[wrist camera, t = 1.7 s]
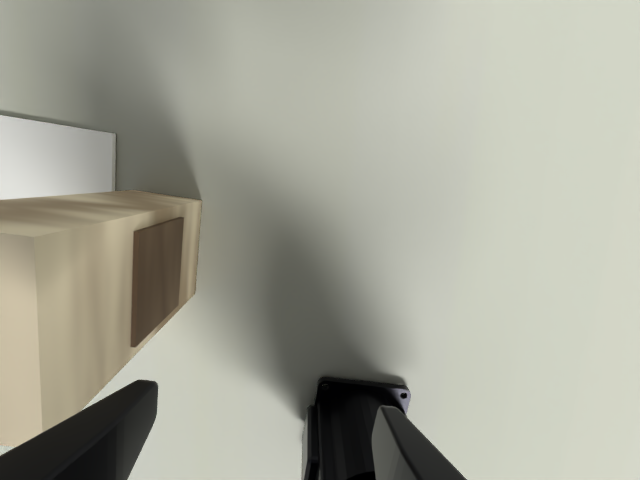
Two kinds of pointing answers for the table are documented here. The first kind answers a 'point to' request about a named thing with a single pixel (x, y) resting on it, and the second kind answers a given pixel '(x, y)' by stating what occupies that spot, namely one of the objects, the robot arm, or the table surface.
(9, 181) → the mat
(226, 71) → the table surface
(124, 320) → the birch block
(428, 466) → the robot arm
